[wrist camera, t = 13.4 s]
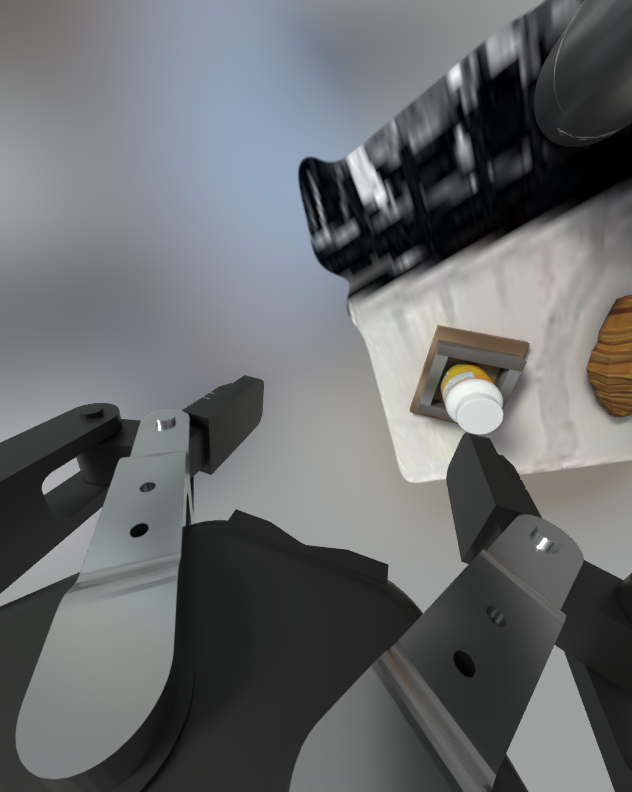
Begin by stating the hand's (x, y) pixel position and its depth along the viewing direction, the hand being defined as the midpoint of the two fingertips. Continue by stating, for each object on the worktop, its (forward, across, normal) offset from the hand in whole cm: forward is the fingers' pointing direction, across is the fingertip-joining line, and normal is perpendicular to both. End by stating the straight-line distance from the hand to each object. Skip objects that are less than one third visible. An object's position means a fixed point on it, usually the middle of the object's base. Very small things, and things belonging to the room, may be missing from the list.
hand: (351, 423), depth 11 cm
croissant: (+28, -25, 0) cm, 38 cm away
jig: (+28, -11, +6) cm, 31 cm away
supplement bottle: (+27, -11, +6) cm, 30 cm away
